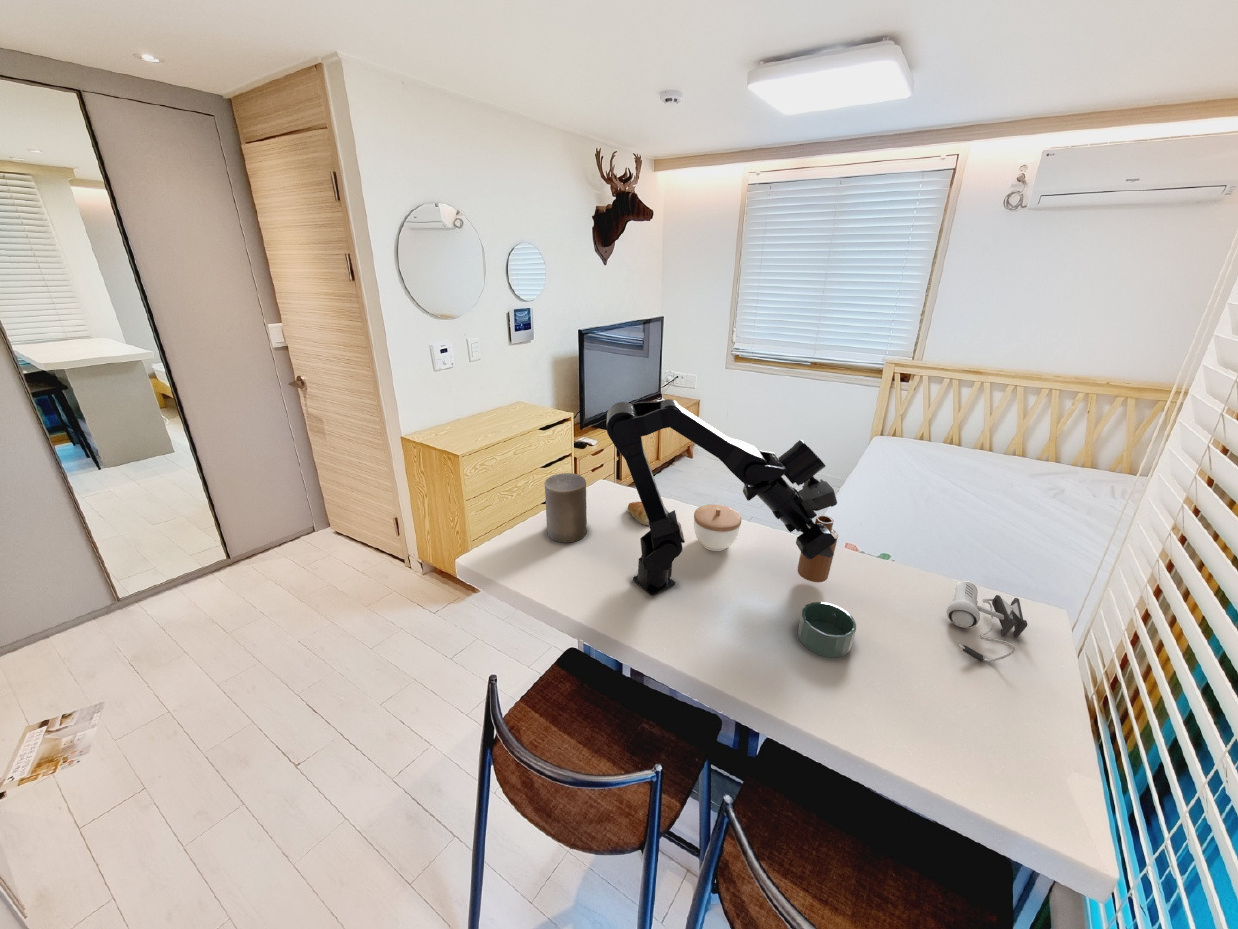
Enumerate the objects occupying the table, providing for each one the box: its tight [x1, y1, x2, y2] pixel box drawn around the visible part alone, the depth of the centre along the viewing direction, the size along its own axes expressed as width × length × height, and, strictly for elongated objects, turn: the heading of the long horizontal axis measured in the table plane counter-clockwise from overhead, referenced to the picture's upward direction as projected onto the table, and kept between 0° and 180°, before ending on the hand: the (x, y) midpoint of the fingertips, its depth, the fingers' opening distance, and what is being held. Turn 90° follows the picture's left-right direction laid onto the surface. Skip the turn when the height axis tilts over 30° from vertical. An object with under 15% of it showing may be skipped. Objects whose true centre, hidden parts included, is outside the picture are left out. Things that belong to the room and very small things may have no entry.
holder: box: [797, 601, 857, 659], centre depth 90 cm, size 9×9×5 cm
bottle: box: [796, 514, 839, 583], centre depth 101 cm, size 6×6×13 cm
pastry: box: [627, 501, 649, 526], centre depth 129 cm, size 9×7×4 cm
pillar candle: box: [544, 472, 588, 544], centre depth 118 cm, size 10×10×15 cm
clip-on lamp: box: [946, 580, 1028, 662], centre depth 91 cm, size 12×6×18 cm
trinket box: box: [693, 503, 742, 552], centre depth 116 cm, size 11×11×9 cm
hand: (825, 546), depth 101 cm, fingers closed on bottle, 6 cm apart
